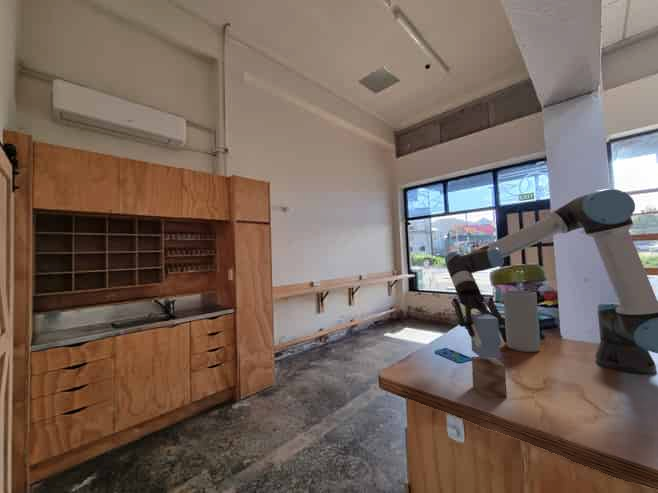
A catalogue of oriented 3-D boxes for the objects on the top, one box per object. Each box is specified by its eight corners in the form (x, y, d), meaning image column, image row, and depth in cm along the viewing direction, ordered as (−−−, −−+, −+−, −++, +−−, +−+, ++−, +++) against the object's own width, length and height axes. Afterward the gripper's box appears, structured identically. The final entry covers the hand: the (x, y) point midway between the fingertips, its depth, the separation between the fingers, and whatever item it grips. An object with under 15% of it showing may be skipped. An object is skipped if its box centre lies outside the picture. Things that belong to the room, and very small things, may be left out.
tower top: (494, 371, 90) (493, 356, 90) (505, 381, 83) (504, 365, 83) (472, 371, 91) (471, 356, 91) (481, 381, 84) (480, 365, 84)
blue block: (490, 350, 90) (488, 314, 90) (500, 357, 84) (497, 318, 84) (472, 350, 90) (469, 314, 91) (480, 357, 85) (477, 318, 85)
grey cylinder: (500, 343, 129) (497, 291, 130) (527, 342, 128) (523, 290, 129) (518, 353, 116) (514, 295, 117) (548, 352, 116) (543, 293, 117)
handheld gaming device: (446, 347, 126) (474, 357, 112) (446, 349, 126) (474, 360, 112) (432, 350, 123) (459, 361, 109) (432, 352, 123) (459, 364, 109)
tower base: (495, 386, 90) (493, 371, 90) (507, 398, 83) (505, 381, 83) (473, 387, 90) (472, 371, 91) (483, 398, 84) (482, 381, 84)
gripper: (489, 291, 102) (518, 350, 85) (437, 293, 104) (456, 351, 87) (495, 278, 97) (528, 338, 80) (441, 280, 99) (461, 340, 82)
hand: (490, 345), depth 84 cm, fingers closed on blue block, 6 cm apart
